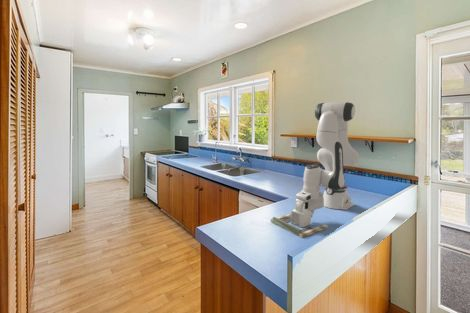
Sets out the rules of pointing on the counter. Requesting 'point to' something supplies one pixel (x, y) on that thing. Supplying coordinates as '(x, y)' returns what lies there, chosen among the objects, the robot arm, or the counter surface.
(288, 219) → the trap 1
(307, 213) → the container
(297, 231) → the tan flat bar frame
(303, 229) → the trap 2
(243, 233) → the counter surface
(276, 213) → the counter surface
